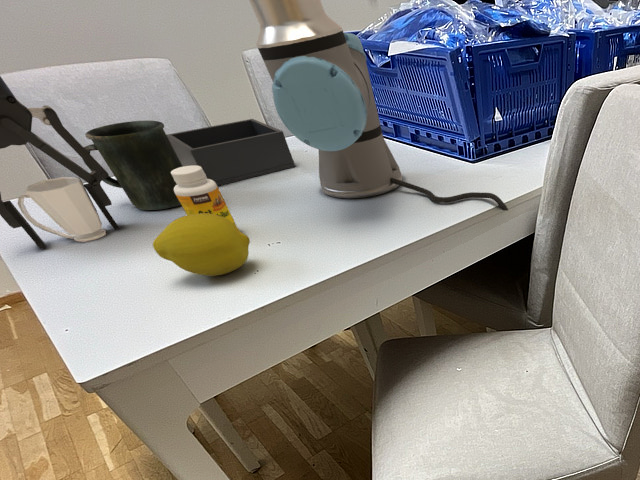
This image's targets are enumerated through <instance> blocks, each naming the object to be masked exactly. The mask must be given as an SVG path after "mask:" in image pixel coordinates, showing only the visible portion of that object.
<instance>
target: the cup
mask: <svg viewBox="0 0 640 480" xmlns="http://www.w3.org/2000/svg"><path fill="white" fill-rule="evenodd" d="M83 184H84V183H83V181H82V178H80V177H79V176H77V177H75V176H62V177H56V178H49V179H43V180H42V181H38V182H36V183H33V184H30V185H27V186H26V188H25V190H24V193H23V194H22V195H20V196H19V197H17V206H18V208H19V210H20V213H21V214H22V216H23V217H24V218H25V220H26V221H27V222H30V224H32V225H33V226H35V227H36V228H39V229H41V230H42V231H44V232H47V233H50V234H53V235H55V236H59V237H62V238H67V239H71V240H72V239H73V240H74V241H75V242H82V243H85V242H86V243H87V242H90V241H95V240H98V239H101V238H102V237H104V236H106V235H107V230H106V229H105V228H103V227H102V226H103V224H102V220H101V218H100V216H99V213H98V211H97V208H96V207H95V205H94V201H92V198H91V196H90V194H89V192H88V191H87V190H86V188H85V187H84V185H83ZM25 198H26V199H31V200H32V201H33V202H34V203H35V204H36V205H37V206H38V207H40V209H41V210H42V211H43V212H44V213H45V214H46V215H47V216H48V217H49V218H50V219H51V220H52V221H53V222H54V223H55V224H57V225H58V226H59V227H60V228H61V229H63V230H64V231H65V232H62V231H60V230H56V229H54V228H51V227H49V226H46V225H45V224H42V223H40V222H39V221H37V220H36V219H35V218H33V217H32V216H31V214H30V213H29V211H28V210H27V208H26V205H25Z"/></svg>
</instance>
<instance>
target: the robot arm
mask: <svg viewBox="0 0 640 480" xmlns="http://www.w3.org/2000/svg"><path fill="white" fill-rule="evenodd" d="M248 1H249V3H250V5H251V8H252V10H253V13H254V14H255V16H256V19H257V21H258V23H259V26H260V27H259V29H260V30H259V34H258V36H257V40H256V43H255V44H256V48H257V49H258V52H259V53H260V57H261V58H262V61H263V63H264V65H265V68H266V70H267V72H268V74H269V76H270V78H271V81H272V85H271V91H272V99H273V104H274V107H275V110H276V113H277V115H278V117H279V118H280V120H281V122H282V123H283V125H284V126H285V128H286V129H287V130H288V131H289V132H290V133H291V134H292V135H293V136H294V137H295V138H296V139H298V140H299V141H300V142H301V143H303V144H305V145H306V146H309V147H310V148H313V149H316V150H318V179H319V184H320V186H321V187H320V188H321V190H322V192H323V194H325V195H327V196H330V197H334V198H338V199H361V198H370V197H375V196H379V195H383V194H386V193H389V192H391V191H393V190H395V189H397V188H398V187H399V186H400V187H403V188H406V189H409V190H412V191H415V192H419V193H421V194H424V195H425V196H427V197H429V199H430V200H432V201H433V202H435V203H441V204H447V203H455V202H459V201H463V200H467V199H490V200H492V201H494V202H495V203H496V204H497V205H498V206H499V208H500V209H501V210H502V211H509V208H508V207H507V205H506V203H505V202H504V201H503V200H502V199H501V198H500V197H499V196H498V195H496V194H494V193H493V192H479V191H478V192H475V191H472V192H471V191H470V192H465V193H460V194H455V195H452V196H437V195H435V193H433V192H432V191H431V190H429V189H427V188H424V187H421V186H418V185H416V184H413V183H410V182H406V181H404V180H403V175H402V172H401V168H400V166H399V164H398V163H397V161H396V159H395V157H394V155H393V153H392V151H391V150H390V147H389V146H388V143H387V142H386V139H385V138H384V134H383V131H382V125H381V121H380V118H379V117H380V116H379V112H378V108H377V103H376V99H375V96H374V90H373V87H372V81H371V77H370V73H369V70H368V65H367V54H366V52H365V51H364V48H363V44H362V41H361V39H360V38H359V37H358V35H356V34H354V33H351V32H344V30H343V28H342V26H341V25H339V24H338V23H337V22H336V21H334V19H332V18H331V17H329V15H328V14H327V13H326V12H325V9H324V6H323V3H322V1H321V0H248ZM33 118H36V119H38V120H39V121H40V122H41V123H42V124H44V125H45V126H51V128H53V130H54V131H55V132H56V133H57V134H58V135H59V136H60V137H61V138H62V139H63V141H65V142H66V143H67V144H68V146H70V148H72V150H74V152H75V153H76V154H77V155H78V156H79V157H80V158H81V159H82V161H83V160H84V161H85V162H86V163H87V164H88V165H89V166H90V167H91V168H92V169H93V170H94V171H90V172H89V171H88V170H86V169H84V168H83V167H82V166H80V165H79V164H77V163H76V162H74V161H73V160H72V159H70V158H69V157H68V156H66V155H65V154H63V153H62V152H60V151H59V150H58V149H56V148H55V147H54V146H52V145H51V144H50V143H48V142H47V141H45V140H44V139H42V138H41V137H39V135H37V134H35V133H34V132H33V131H32V127H33V126H32V125H33ZM27 143H29V144H30V145H31V146H33V147H34V148H36V149H38V150H39V151H41V152H42V153H44V154H45V155H47V156H48V157H49V158H51V159H52V160H54V161H55V162H57V163H58V164H60V165H61V166H63V167H64V168H66V169H67V170H69V172H71V173H73V174H74V175H75V176H77V177H79V178H80V179H81V180H83V181H84V182H85V183H83V185H84V187H85V189H86V191H87V193H88V195H89V196H90V198H91V199H92V200H93V202H95V204H96V206H97V207H98V208H99V210H100V211H101V213H102V214H103V216H104V218H105V219H106V220H107V221H108V223H109V224H110V226H111V228H113V230H117V229H120V226H119V225H118V224H117V221H116V220H115V219H114V217H113V216H112V215H111V213H110V211H109V210H108V209H107V207H108V206H112V200H111V199H110V197H109V196H108V194H107V193H106V192H105V190H104V188H103V187H102V184H101V182H103V181H102V180H103V179H105V178H108V177H109V176H110V175H109V172H108V171H107V170H106V169H105V168H104V167H103V166H102V165H101V164H100V163H99V162H98V160H96V158H94V157H93V156H92V155H91V153H90V154H89V153H88V152H87V151H86V150H85V148H84V147H85V146H83V145H82V144H81V143H80V142H79V141H78V140H77V139H76V138H75V137H74V136H73V134H71V133H70V131H69V130H68V129H66V127H65V126H63V123H62V121H61V120H60V118H59V115H58V114H57V112H56V111H55V110H54V109H53V108H52V107H51V106H49V105H45V104H44V105H43V106H42V107H27V106H25V105H24V104H23V103H21V102H20V101H19V100H18V99H17V98H16V96H15V95H14V93H13V92H12V90H11V89H10V88H9V86H8V85H7V84H6V82H5V80H4V79H3V78H2V76H1V75H0V150H1V149H6V148H8V147H10V146H24V145H27ZM84 161H83V162H84ZM0 217H1V218H2V219H3V221H5V223H6V224H7V225H8V226H9V227H10V228H12V229H17V228H22V229H23V230H24V231H25V233H26V234H27V235H28V237H30V239H31V240H32V241H33V242H34V244H35V245H36V246H37V247H38V248H39V250H42V249H45V248H47V245H46V243H45V241H44V240H43V239H42V238H41V237H40V235H39V234H38V233H37V232H36V231H35V229H34V228H33V226H31V224H30V223H29V221H28V220H27V219H26V217H25V216H24V215H23V214H22V213H21V211H19V210H18V208H16V206H15V205H14V204H13V203H12V202H11V200H4V201H3V200H2V194H1V192H0Z"/></svg>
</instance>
